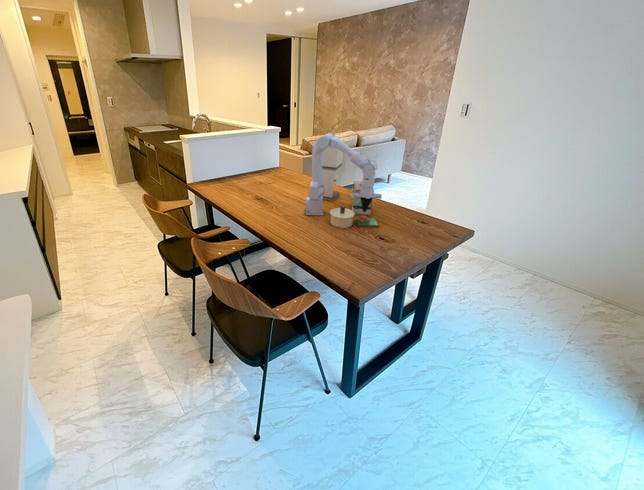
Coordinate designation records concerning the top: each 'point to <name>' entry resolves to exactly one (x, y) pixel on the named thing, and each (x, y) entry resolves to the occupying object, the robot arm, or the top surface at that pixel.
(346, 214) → the tin lid
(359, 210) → the tea box
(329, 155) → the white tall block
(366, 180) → the robot arm
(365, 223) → the release base
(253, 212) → the top surface
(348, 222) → the tin
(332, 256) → the top surface
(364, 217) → the button
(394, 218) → the top surface
